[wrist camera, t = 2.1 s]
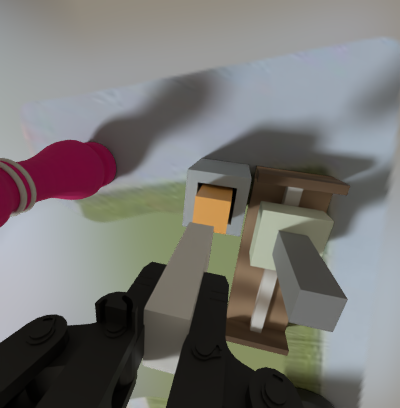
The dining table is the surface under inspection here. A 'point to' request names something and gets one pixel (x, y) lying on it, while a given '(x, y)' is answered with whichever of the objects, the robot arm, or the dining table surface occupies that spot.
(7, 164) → the pepper mill
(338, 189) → the rail board
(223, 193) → the button
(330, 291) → the carriage
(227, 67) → the dining table surface
